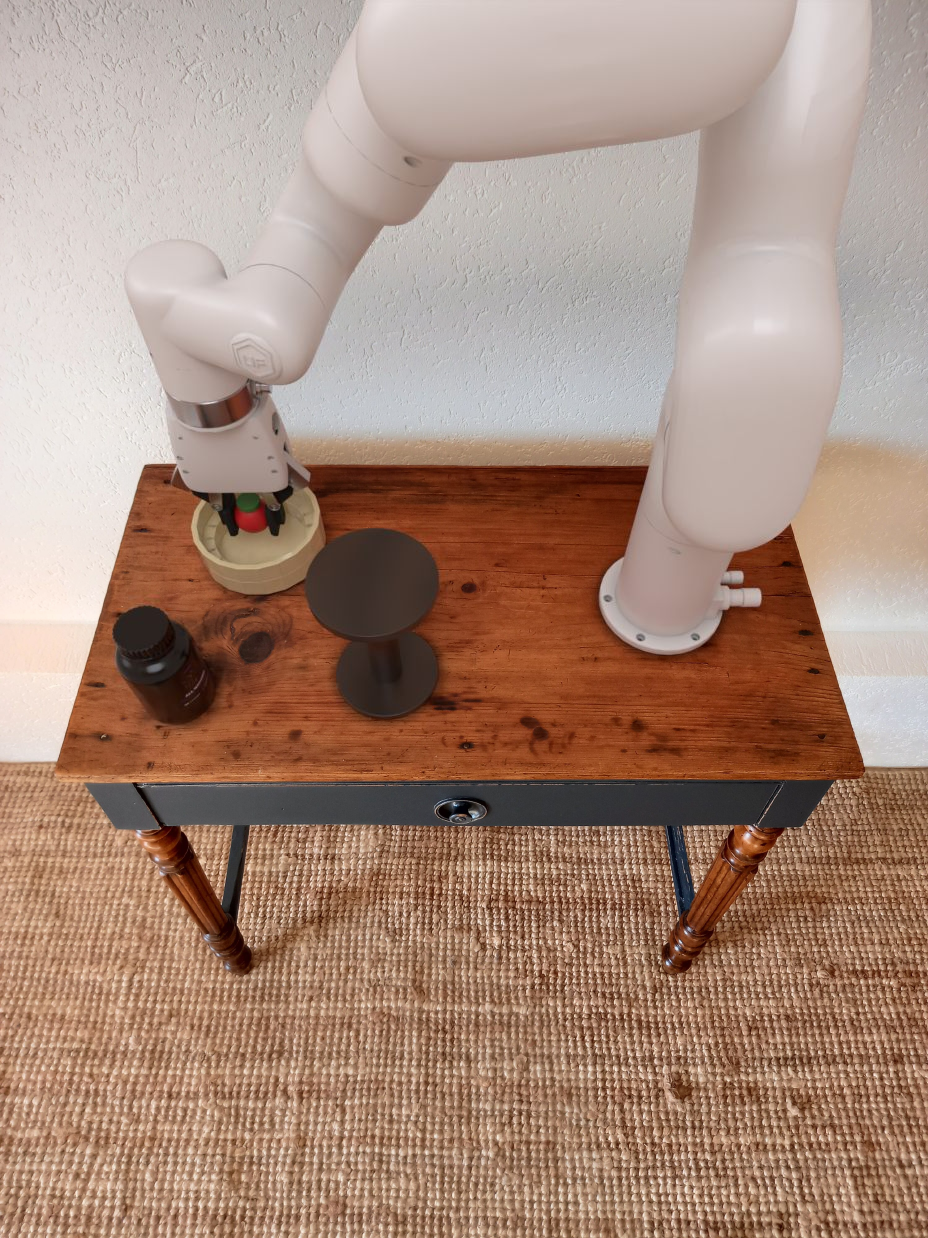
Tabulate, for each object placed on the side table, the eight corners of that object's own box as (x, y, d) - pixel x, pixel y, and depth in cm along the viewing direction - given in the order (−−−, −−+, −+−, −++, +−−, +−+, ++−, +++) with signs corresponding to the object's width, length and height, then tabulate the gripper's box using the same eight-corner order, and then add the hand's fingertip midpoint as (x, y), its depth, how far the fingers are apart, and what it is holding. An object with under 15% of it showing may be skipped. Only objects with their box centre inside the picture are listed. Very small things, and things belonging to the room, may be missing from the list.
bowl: (330, 501, 91) (324, 470, 87) (320, 596, 84) (313, 568, 80) (214, 502, 91) (202, 471, 87) (195, 598, 84) (181, 569, 80)
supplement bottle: (218, 719, 76) (181, 655, 66) (145, 733, 76) (96, 670, 66) (215, 658, 80) (179, 589, 70) (145, 671, 79) (99, 603, 69)
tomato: (276, 512, 86) (268, 485, 82) (272, 540, 84) (264, 514, 80) (241, 512, 86) (231, 486, 82) (236, 540, 84) (226, 514, 80)
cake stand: (443, 626, 82) (439, 526, 69) (443, 724, 76) (438, 636, 63) (336, 627, 82) (311, 528, 69) (327, 725, 76) (298, 637, 63)
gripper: (312, 361, 71) (337, 498, 87) (125, 361, 71) (184, 499, 87) (304, 420, 67) (332, 553, 83) (105, 421, 67) (171, 554, 83)
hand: (256, 524), depth 85 cm, fingers closed on tomato, 3 cm apart
